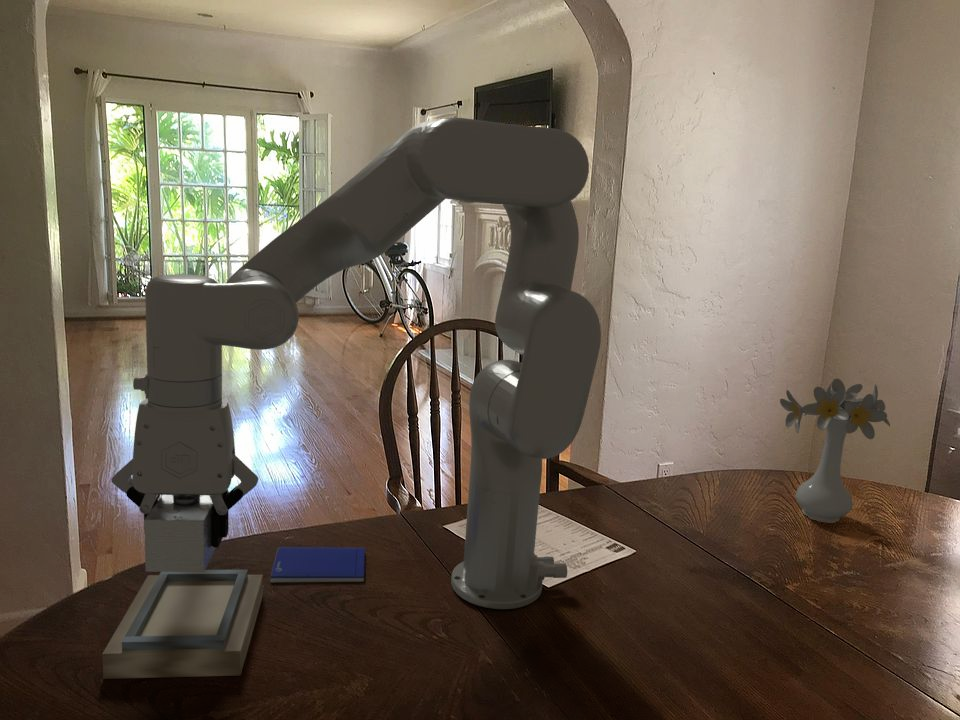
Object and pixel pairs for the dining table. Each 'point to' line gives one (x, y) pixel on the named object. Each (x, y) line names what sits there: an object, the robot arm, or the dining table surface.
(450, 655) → the dining table surface
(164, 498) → the block
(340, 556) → the hard drive
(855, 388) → the flower vase
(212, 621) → the stand
